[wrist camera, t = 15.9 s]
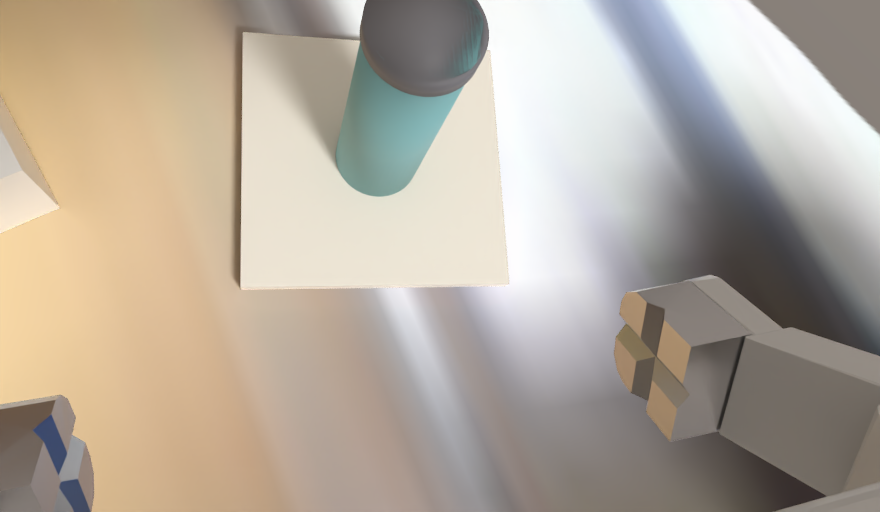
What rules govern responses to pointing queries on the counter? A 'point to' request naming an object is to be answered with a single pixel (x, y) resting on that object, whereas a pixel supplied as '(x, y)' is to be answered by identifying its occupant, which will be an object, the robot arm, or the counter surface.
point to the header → (20, 178)
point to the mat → (347, 210)
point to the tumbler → (405, 86)
